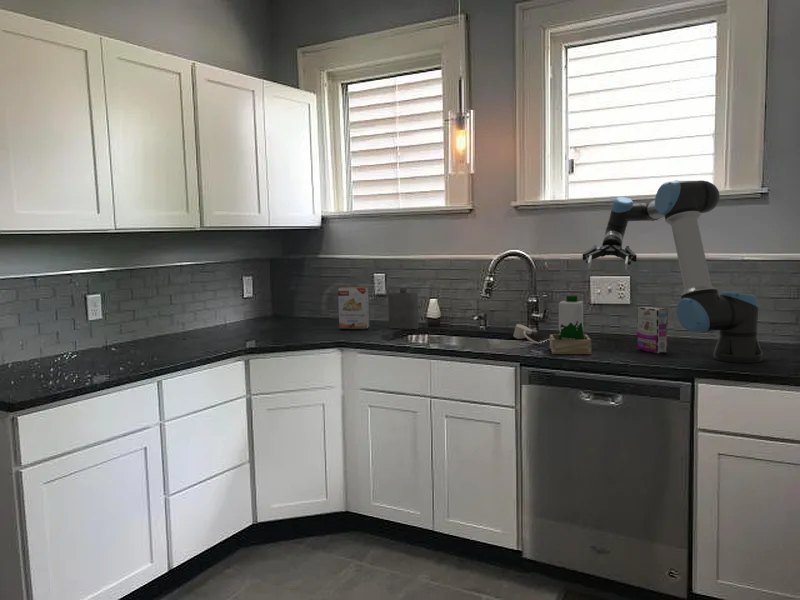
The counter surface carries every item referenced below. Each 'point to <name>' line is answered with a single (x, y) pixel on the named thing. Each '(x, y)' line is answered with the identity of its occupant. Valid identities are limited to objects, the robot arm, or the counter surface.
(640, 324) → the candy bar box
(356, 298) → the cracker box
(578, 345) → the caddy
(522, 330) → the toilet paper hanger
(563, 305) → the soya milk
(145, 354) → the counter surface
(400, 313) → the flask
